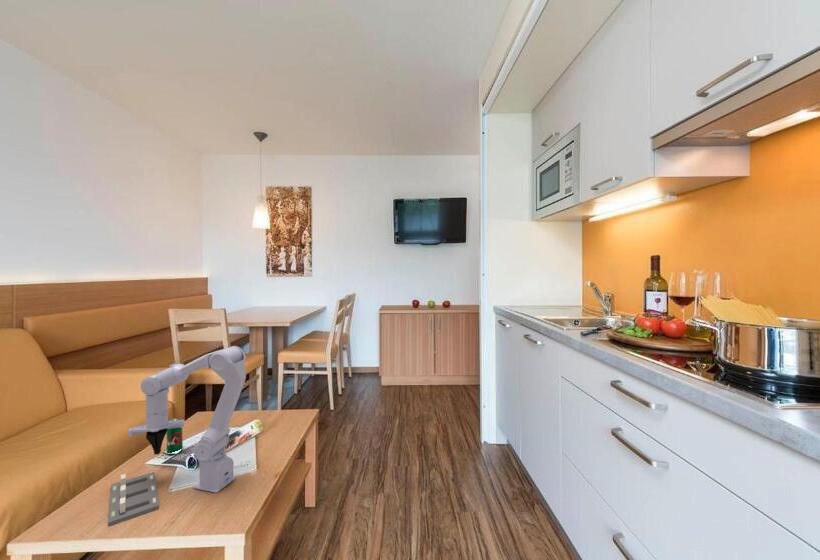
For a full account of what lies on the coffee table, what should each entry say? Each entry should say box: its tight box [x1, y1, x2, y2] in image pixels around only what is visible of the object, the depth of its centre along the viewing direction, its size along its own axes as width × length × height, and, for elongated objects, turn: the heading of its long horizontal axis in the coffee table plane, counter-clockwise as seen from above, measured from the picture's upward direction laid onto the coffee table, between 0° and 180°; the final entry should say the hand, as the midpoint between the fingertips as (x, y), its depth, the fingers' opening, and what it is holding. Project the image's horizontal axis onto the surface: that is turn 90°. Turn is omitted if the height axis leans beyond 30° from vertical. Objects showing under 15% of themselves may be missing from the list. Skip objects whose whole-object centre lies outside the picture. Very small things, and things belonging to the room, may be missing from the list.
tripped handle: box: [120, 497, 126, 513], centre depth 98 cm, size 1×3×3 cm, turn 39°
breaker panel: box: [107, 471, 160, 527], centre depth 105 cm, size 11×22×4 cm, turn 39°
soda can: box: [165, 418, 184, 454], centre depth 132 cm, size 5×5×12 cm
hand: (157, 452), depth 113 cm, fingers closed
